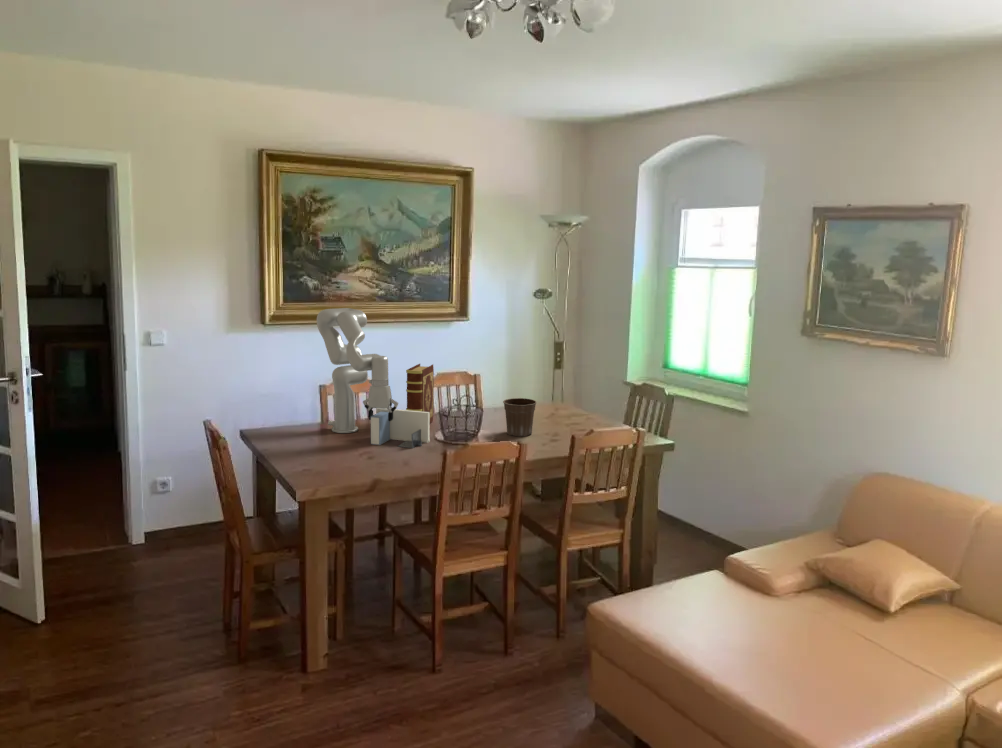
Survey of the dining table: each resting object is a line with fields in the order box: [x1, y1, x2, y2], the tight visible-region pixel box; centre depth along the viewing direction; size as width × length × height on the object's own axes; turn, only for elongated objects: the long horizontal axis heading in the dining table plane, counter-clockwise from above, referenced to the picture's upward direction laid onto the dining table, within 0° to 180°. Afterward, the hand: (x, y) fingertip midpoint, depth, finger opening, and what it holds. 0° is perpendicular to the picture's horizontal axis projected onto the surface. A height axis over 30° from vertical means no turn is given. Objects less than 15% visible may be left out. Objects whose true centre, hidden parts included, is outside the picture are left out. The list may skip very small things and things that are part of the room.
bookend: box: [397, 429, 423, 449], centre depth 351 cm, size 10×10×6 cm
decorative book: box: [405, 363, 435, 424], centre depth 385 cm, size 22×8×30 cm, turn 168°
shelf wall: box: [375, 408, 431, 444], centre depth 359 cm, size 26×3×14 cm, turn 74°
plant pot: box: [502, 397, 538, 437], centre depth 375 cm, size 16×16×16 cm
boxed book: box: [370, 412, 391, 446], centre depth 354 cm, size 4×11×13 cm, turn 164°
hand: (380, 419), depth 353 cm, fingers open, 9 cm apart
